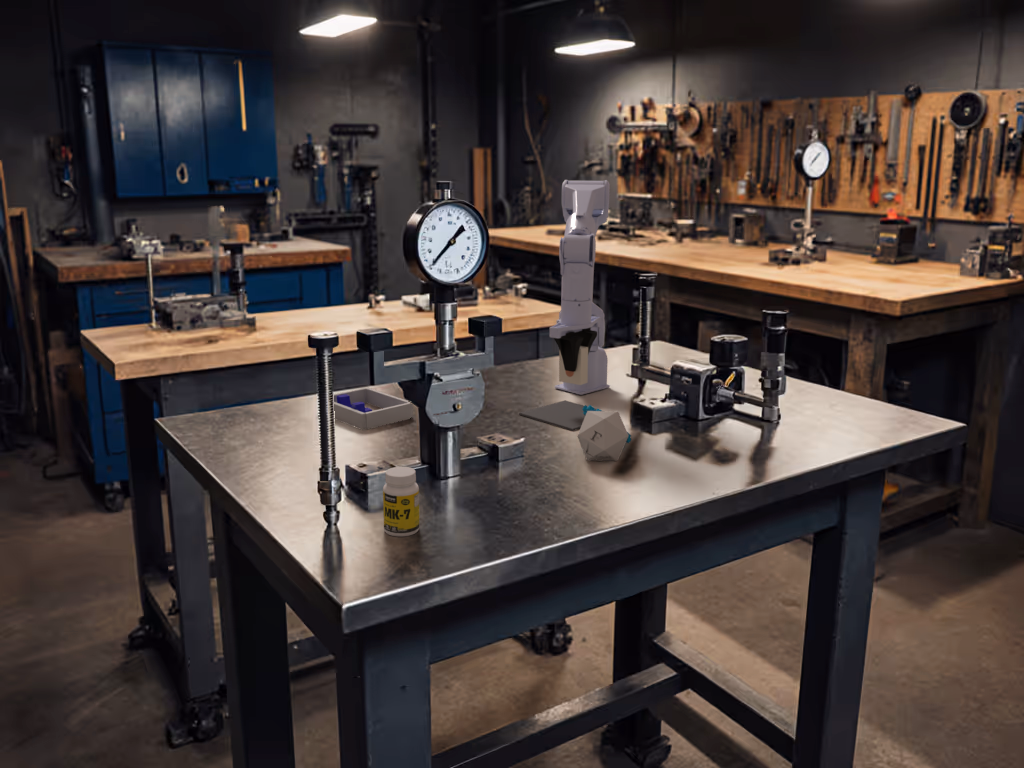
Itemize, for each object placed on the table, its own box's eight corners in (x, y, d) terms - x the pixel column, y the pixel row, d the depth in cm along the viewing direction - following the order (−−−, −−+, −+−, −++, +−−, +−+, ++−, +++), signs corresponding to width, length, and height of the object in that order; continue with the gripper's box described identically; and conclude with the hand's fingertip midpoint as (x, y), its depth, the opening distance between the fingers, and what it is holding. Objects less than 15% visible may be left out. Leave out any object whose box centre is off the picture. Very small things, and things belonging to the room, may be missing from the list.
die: (566, 456, 149) (568, 423, 141) (595, 423, 153) (598, 389, 145) (606, 481, 146) (610, 449, 138) (635, 447, 150) (640, 414, 142)
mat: (565, 402, 179) (565, 400, 179) (618, 416, 169) (618, 414, 169) (519, 414, 170) (519, 412, 170) (572, 430, 161) (572, 428, 160)
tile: (566, 378, 172) (566, 343, 170) (587, 382, 169) (588, 347, 167) (558, 381, 170) (558, 346, 168) (580, 385, 167) (580, 349, 165)
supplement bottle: (379, 536, 116) (377, 476, 114) (389, 521, 121) (387, 464, 119) (414, 538, 115) (413, 478, 113) (423, 524, 120) (422, 466, 118)
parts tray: (367, 401, 179) (367, 387, 178) (414, 417, 168) (413, 402, 167) (318, 412, 171) (317, 397, 171) (363, 430, 160) (362, 414, 160)
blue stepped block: (372, 422, 166) (372, 402, 165) (355, 425, 164) (355, 405, 163) (354, 412, 172) (353, 393, 171) (337, 415, 170) (336, 395, 169)
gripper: (579, 292, 173) (578, 359, 176) (536, 301, 162) (535, 373, 165) (610, 295, 169) (608, 364, 172) (568, 305, 158) (566, 378, 161)
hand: (574, 369), depth 168 cm, fingers closed on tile, 2 cm apart
